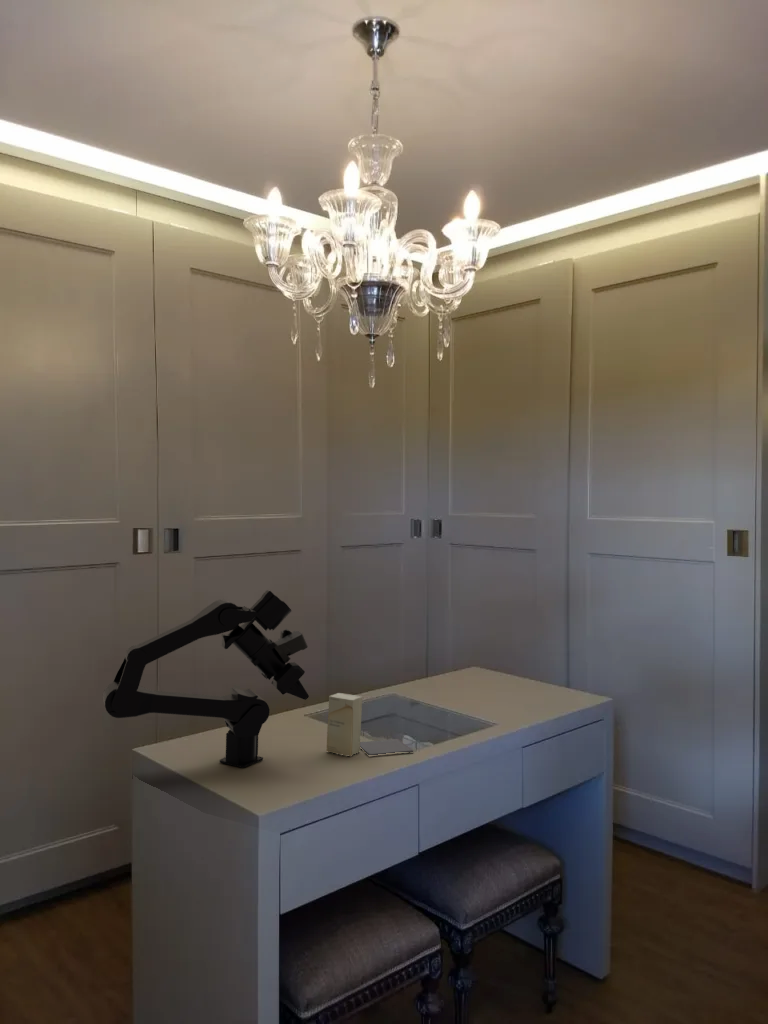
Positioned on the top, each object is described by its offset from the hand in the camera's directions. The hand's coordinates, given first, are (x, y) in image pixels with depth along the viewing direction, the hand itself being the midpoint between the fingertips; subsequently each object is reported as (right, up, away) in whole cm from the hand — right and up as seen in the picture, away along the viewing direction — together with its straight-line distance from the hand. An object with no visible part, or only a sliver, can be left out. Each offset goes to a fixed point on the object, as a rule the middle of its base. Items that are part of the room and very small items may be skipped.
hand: (307, 697), depth 163 cm
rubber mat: (+16, -13, +6) cm, 21 cm away
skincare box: (+8, -13, +3) cm, 15 cm away
